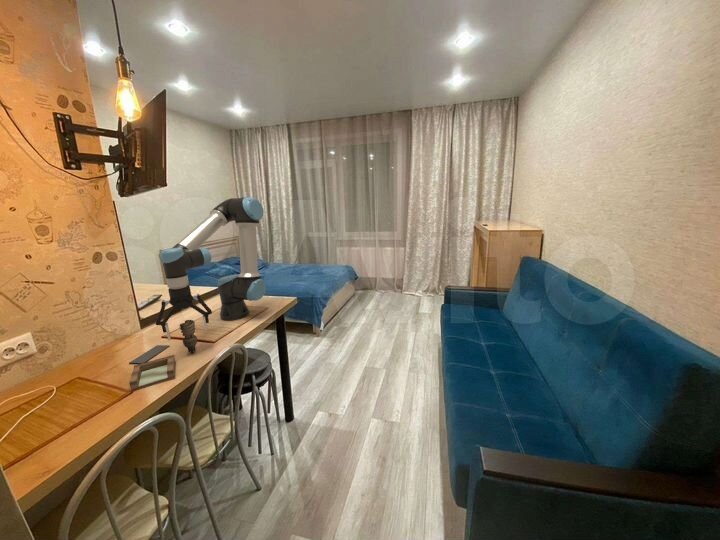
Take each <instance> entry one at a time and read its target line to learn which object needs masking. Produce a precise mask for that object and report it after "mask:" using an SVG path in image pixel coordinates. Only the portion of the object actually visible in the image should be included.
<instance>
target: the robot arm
mask: <svg viewBox="0 0 720 540" xmlns="http://www.w3.org/2000/svg"><path fill="white" fill-rule="evenodd" d="M263 217H264V207H263V205H262V203H261V202H260V200H258V199H257V198H255V197H252V196H251V197H250V196H249V197H247V196H246V197H236V198H233V197H232V198H227V199H225V200H223V201H222V202H220V203H219V204H217V205H216V206H215V207H214V208H212V209H211V210H210V211H209V215H208V216H207V217H206V218H204V219H203V220H202V221H201V222H200V223H198V225H196V227H194V228H193V229H192V230H191V231H190V232H189V233H187V234H186V235H185V236H184V237H183V238H182V239H180V241H178V242H177V243H176V244H175V245H173V247H171V248H167V249H166V248H165V249H163V250H161V252H160V254H159V259H160V260H159V261H160V262H161V263H162V267H163V271H164V275H165V280H166V285H167V288H168V290H167V291H168V294H169V299H168V300H164V299H163V300H161V305H160V306H161V307H160V311H159V313H158V315H157V319H156V321H155V326H161V328H162V329H161V330H162V332H163V333H165V334H166V335H167V336H166V337H167V340H168V341H171V340H172V339H171V332H170V327H169V324H168V321H169V319H170V318H171V317H172V315H173V314H174V313H175V311H176V310H182V309H188V308H191V309H193V310H195V311H196V312H198V313H199V314H201V316H202V320H203V324H204V325H203V326H204V330H205V332H208V326H207V324H209V315H211V314H213V311H212V309H211V308H210V307H209V306H208V305H207V304H206V302H205V301H204V300H203V299H202V297H201V294H200V293H197V294H196V295H192V291H191V287H190V285H189V284H190V282H189V276H188V270H191V269H195V268H199V267H204V266H208V265H209V264H210V263H211V262H212V254H211V252H210V250H209V249H207V248H205V247H203V248H200V247H201V246H202V245H203V244H204V243H205V242H206V241H207V240H208V239H210V238H211V237H212V236H213V235H214V233H216V232H217V231H219V229H220V228H221V227H224V226H226V225H228V224H229V223H230V222H233V221H234V223H235V225H236V226H237V227H238V241H239V242H238V243H239V261H240V273H239V274H237V273H236V274H235V273H234V274H229V275H225V276H222V277H220V278H218V280H217V287H218V289H217V290H218V293H219V298H220V303H221V305H220V312H219V317H220V320H222V321H226V322H227V321H236V320H241V319H242V318H245V317H246V316H249V314H250V310H249V309H250V308H249V307H248V306H247V304H246V302H245V301H250V302H252V301H255V302H257V301H260V300H261V299H263V298H264V297H263V296H264V295H265V294H266V292H267V284H266V282H265V280H264V279H262V274H261V273H260V272H259V266H258V261H259V260H258V245H257V244H258V241H257V240H258V239H257V227H258V226H259V225H260V220H261V219H262V218H263ZM193 300H195V301H198V303H199V304H200V305H201V306H202V307H203V308H204V309H202V308H201V307H199V306H198V305H197V304H195V303H194V302H193ZM169 304H170V305H171V306H172V307H170V309H169V311H168V312H167V314H166V315H165V317H164V318H163V315H164V312H165V310H166V307H167V306H168V305H169ZM162 318H163V319H162Z"/></svg>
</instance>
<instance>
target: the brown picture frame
mask: <svg viewBox="0 0 720 540" xmlns="http://www.w3.org/2000/svg"><path fill="white" fill-rule="evenodd" d="M176 364H177V363H176V358H175V355H174V354H172V355H167V356H165V357H161V358H157V359H153V360H149V361H148V362H145V363H142V364H133V368H132V371H131V374H130V375H131V376H130V379H129V382H128V383H129V386H130V391H131V392H136V391H139V390H142V389H144V388H147V387H152V386H154V385H158V384H161V383H165V382H168V381H170V380H174V379H176Z"/></svg>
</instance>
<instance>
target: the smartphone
mask: <svg viewBox="0 0 720 540" xmlns="http://www.w3.org/2000/svg"><path fill="white" fill-rule="evenodd" d="M170 347H171V345H166V344H165V345H162V344H160V345H158V344H157V345H155V346H153V347H152V348H150V349H149V350H147V351H145V352H143V353H142V354H141V355H139V356H137V357H135V358H134V359H133V360H131V361H129V362H128V365H138V364H142V363H145V362H149V361H152V359H153V358H155V357H157V356H158V355H160V354H161V353H162V352H164V351H166V350H167V349H168V348H170Z"/></svg>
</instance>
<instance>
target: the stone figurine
mask: <svg viewBox="0 0 720 540" xmlns="http://www.w3.org/2000/svg"><path fill="white" fill-rule="evenodd" d="M179 327H180V328H179V329H180V330H181V333H180V334H181V335H182V337H183V338H182V343H183V346H184V347H185V348H187V351H188V354H189V353H190V354H194V353H195V352H197V351H196V346H197V344H198V337H197V335H195V332H196V324H195V321H194V320H193V319H186V320H185V321H184V322H182V323H180V324H179Z"/></svg>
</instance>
